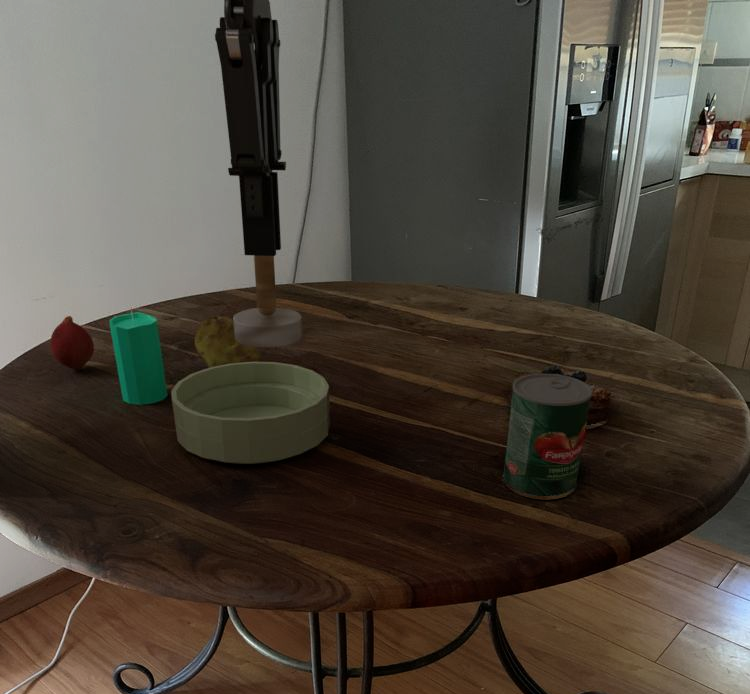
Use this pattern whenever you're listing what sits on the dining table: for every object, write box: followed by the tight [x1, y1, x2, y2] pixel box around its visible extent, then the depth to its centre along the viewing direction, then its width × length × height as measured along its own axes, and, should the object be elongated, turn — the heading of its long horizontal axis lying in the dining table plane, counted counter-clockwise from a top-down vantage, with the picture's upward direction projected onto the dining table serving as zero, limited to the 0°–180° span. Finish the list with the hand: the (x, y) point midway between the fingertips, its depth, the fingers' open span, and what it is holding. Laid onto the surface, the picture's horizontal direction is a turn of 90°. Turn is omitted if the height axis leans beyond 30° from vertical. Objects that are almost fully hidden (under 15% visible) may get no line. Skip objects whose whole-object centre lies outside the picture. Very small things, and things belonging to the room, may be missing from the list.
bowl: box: [170, 361, 331, 465], centre depth 88 cm, size 18×18×6 cm
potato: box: [194, 314, 265, 368], centre depth 104 cm, size 8×13×8 cm, turn 22°
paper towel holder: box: [232, 164, 303, 349], centre depth 67 cm, size 6×6×16 cm
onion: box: [49, 315, 95, 371], centre depth 106 cm, size 6×6×8 cm
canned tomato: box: [502, 373, 592, 496], centre depth 77 cm, size 8×8×11 cm
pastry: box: [507, 365, 612, 425], centre depth 94 cm, size 11×12×6 cm
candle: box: [109, 307, 168, 406], centre depth 96 cm, size 6×6×12 cm
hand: (263, 251), depth 67 cm, fingers closed on paper towel holder, 2 cm apart
